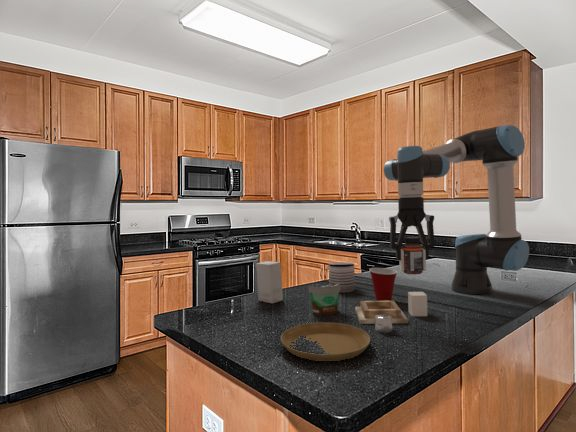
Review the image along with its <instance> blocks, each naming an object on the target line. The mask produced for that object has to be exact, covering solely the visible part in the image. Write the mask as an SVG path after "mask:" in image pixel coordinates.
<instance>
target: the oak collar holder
mask: <svg viewBox="0 0 576 432" xmlns="http://www.w3.org/2000/svg"><path fill="white" fill-rule="evenodd" d="M354 309H355V310H354V311H355V313H356V315H357V319H358V321H359V324H360V325H370V324H372V325H373V324H374V325H375V316H376V315H380V314H385V315H390V316H392V324H409V318H407V316H406V314H404V312H403V311H402V309H401V308H400V307H399V306H398V304H397V303H396V301H395V300H394V299H393V300H392V299H391V301H377V300H360V306H355V307H354Z"/></svg>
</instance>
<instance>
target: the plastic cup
mask: <svg viewBox="0 0 576 432" xmlns="http://www.w3.org/2000/svg"><path fill="white" fill-rule="evenodd" d="M369 272H370V276H371V281H372V287H373V292H374V297H375V301H392V299H393V292H394V287H395V280H396V277H397V274H398V273H399V272H398V270H395V269H393V268H385V267H371V268H369Z"/></svg>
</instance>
